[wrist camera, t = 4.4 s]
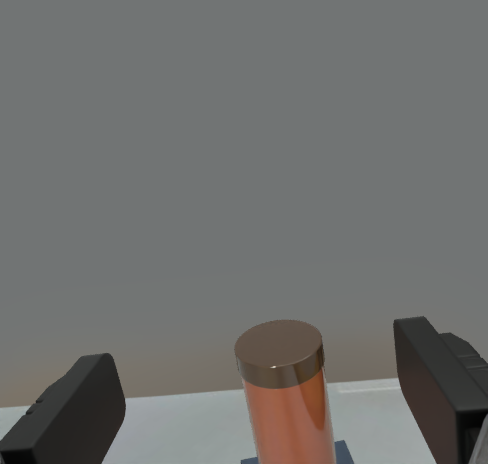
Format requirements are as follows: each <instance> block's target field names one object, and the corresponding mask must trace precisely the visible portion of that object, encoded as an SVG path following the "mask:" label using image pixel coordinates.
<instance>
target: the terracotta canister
mask: <svg viewBox="0 0 488 464" xmlns="http://www.w3.org/2000/svg"><path fill="white" fill-rule="evenodd" d="M234 350H235V355H236V360H237V365H238V370H239V373H240V375H241V377H242V381H243V387H244V392H245V397H246V402H247V407H248V412H249V418H250V423H251V428H252V433H253V438H254V443H255V448H256V453H257V458H258V463H259V464H337V457H336V450H335V442H334V435H333V428H332V420H331V413H330V406H329V399H328V391H327V384H326V377H325V369H324V360H325V357H324V349H323V342H322V336H321V333H320V332H319V331H318V329H317V328H315V327H314V326H313V325H311V324H308V323H306V322H302V321H297V320H276V321H270V322H266V323H262V324H260V325H257V326H255V327H252V328H251V329H249V330H247V331H246V332H244V333H243V334H242V335H241V336H240V337H239V338H238V340H237V341H236V343H235V349H234Z"/></svg>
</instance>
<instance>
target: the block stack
mask: <svg viewBox="0 0 488 464" xmlns="http://www.w3.org/2000/svg"><path fill="white" fill-rule="evenodd" d="M335 450H336V457H337V464H354V462H353V460H352V457H351V455H350V452H349V450H348V448H347V445H346V443H345V441H344V440H342V441H337V442H335ZM241 464H259V463H258V458H257V457H255V458H249V459H244V460H241Z"/></svg>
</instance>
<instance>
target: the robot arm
mask: <svg viewBox="0 0 488 464" xmlns="http://www.w3.org/2000/svg"><path fill="white" fill-rule="evenodd" d="M393 325H394V326H393V328H394V339H395V350H396V361H397V372H398V378H399V382H400V386H401V390H402V393H403V395H404V397H405V399H406V401H407V404H408V406H409V408H410V410H411V412H412V414H413V416H414V418H415V420H416V422H417V424H418V426H419V428H420V430H421V432H422V434H423V436H424V439H425V441H426V443H427V445H428V447H429V449H430V451H431V453H432V455H433V457H434V459H435V461H436V463H437V464H488V363H486V361H485V360H484V359H483V358H481V357H480V355H479V354H478V353H477V351H476V350H475V349H474V348H473V347H472V346H471V345H470V344H469V343H468V342H467V341H464V340H463V339H461V338H459V337H457V336H455V335H453V334H452V333H442V334H438V332H437V331H436V330H435V329H434V327H433V326H432V325H431V324H430V323H429V321H428V320H427V319H426V318H425V317H424V316H422V317H412V318H405V319H396V320H394V324H393ZM125 410H126V404H125V398H124V394H123V390H122V387H121V384H120V380H119V377H118V373H117V369H116V366H115V363H114V359H113V357H112V356H111V355H110V354H109V353H103V354H95V355H87V356H82V357H80V358H79V359H78V361H77V362H76V363H75V364H74V365H73V367H72V368H71V369H70V370H69V371H68V372H67V373H66V375H64V376H63V377H62V378H60V379H59V380H57V381H56V382H55V383H53V384H52V385H51V386H49V387H48V388H47V389H46V390H45V391H44V392H43V394H42V395H41V396H40V397H39V398H38V399H37V400H36V404H33V405H32V406H31V407H30V408H29V409H28V410H27V412H26V415H23V416H22V417H21V418H20V419H19V421H18V422H17V423H16V424H15V425H14V426H13V427H12V429H11V430H10V431H9V432H8V433H7V434H6V435H5V436H4V438H3V439H2V440H1V441H0V464H101V463H102V461H103V459H104V457H105V455H106V454H107V452H108V450H109V448H110V446H111V444H112V442H113V440H114V438H115V436H116V434H117V432H118V431H119V429H120V427H121V425H122V423H123V420H124V417H125Z"/></svg>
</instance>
